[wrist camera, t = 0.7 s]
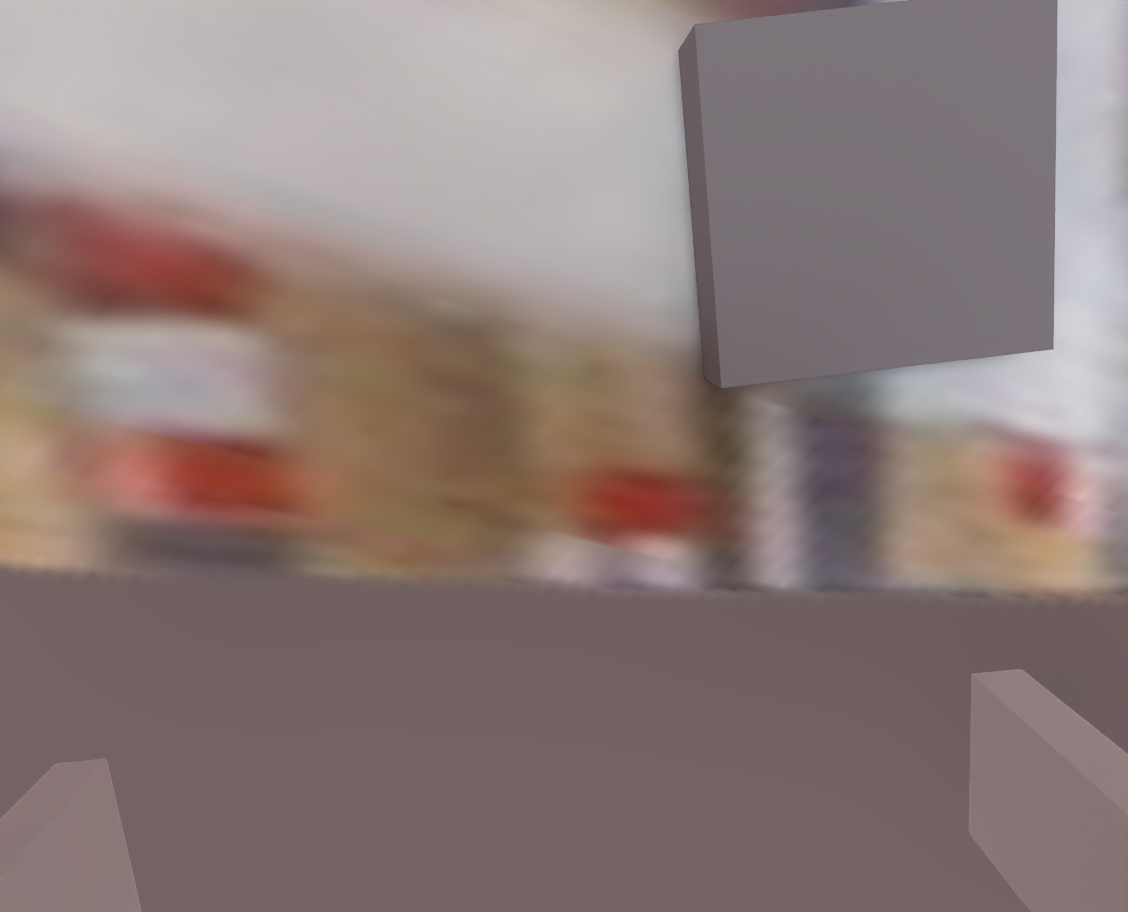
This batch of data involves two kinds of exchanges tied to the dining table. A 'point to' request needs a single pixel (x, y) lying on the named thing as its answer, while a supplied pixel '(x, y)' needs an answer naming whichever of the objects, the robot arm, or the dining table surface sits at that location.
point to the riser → (872, 186)
